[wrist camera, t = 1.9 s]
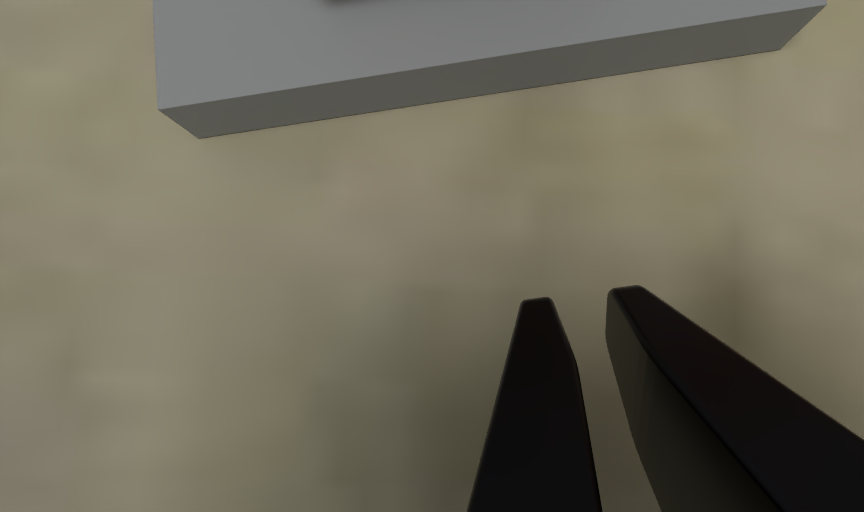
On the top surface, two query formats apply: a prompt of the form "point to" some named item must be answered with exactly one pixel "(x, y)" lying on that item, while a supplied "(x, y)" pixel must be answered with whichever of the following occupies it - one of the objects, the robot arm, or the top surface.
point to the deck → (427, 50)
